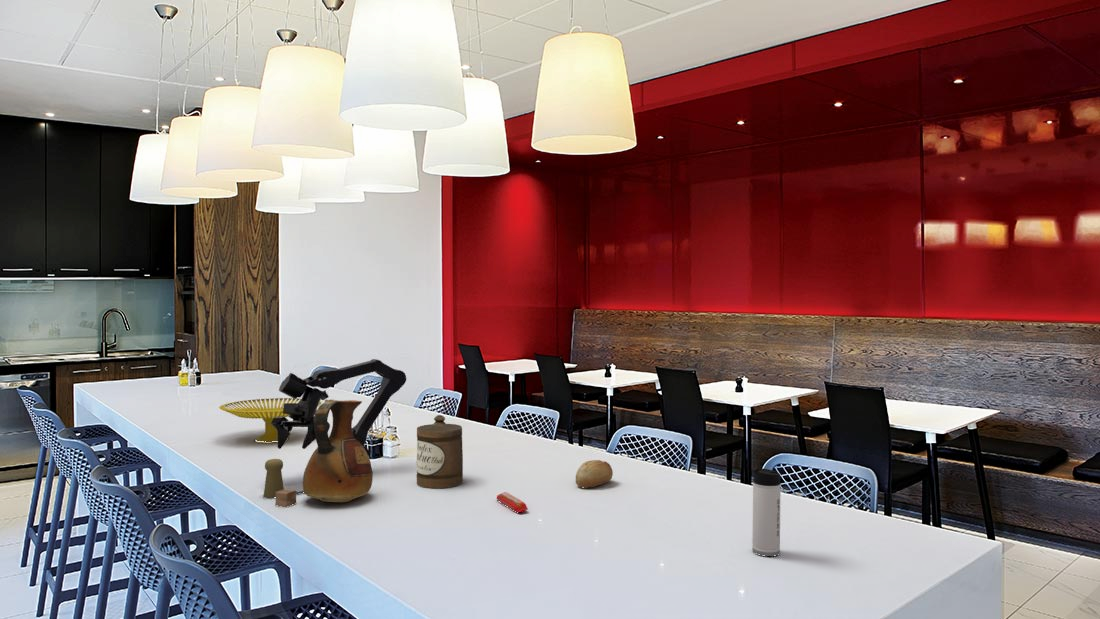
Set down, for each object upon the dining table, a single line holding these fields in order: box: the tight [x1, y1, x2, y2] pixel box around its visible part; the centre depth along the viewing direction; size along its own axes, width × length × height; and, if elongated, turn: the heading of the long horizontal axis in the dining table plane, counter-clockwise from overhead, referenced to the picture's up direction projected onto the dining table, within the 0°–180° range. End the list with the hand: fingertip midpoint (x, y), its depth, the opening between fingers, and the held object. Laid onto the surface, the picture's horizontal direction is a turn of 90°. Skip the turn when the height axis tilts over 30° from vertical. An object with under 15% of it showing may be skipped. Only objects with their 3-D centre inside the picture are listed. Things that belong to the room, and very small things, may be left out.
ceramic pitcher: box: [302, 398, 374, 503], centre depth 217 cm, size 20×20×30 cm
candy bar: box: [496, 491, 528, 514], centre depth 211 cm, size 16×4×3 cm, turn 27°
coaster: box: [284, 483, 304, 495], centre depth 227 cm, size 8×8×1 cm
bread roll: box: [575, 459, 614, 489], centre depth 236 cm, size 10×15×8 cm, turn 139°
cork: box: [263, 458, 285, 499], centre depth 221 cm, size 6×6×11 cm
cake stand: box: [218, 397, 323, 442], centre depth 306 cm, size 40×40×15 cm
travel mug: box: [751, 467, 782, 556], centre depth 174 cm, size 6×7×20 cm
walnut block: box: [275, 489, 297, 508], centre depth 211 cm, size 4×4×4 cm
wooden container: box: [416, 414, 464, 489], centre depth 237 cm, size 15×15×22 cm
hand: (290, 448), depth 228 cm, fingers open, 9 cm apart
